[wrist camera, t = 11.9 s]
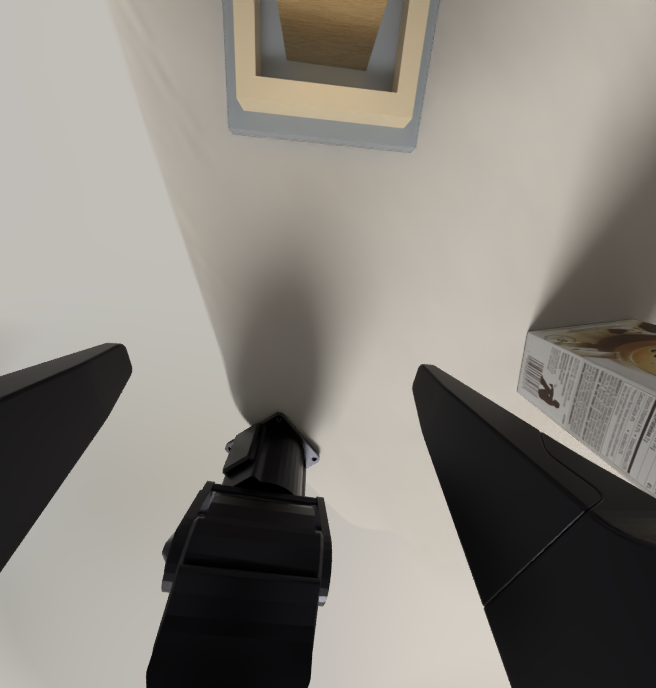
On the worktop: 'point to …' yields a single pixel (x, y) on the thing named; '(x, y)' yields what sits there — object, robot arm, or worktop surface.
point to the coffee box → (599, 390)
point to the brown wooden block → (331, 31)
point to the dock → (328, 80)
